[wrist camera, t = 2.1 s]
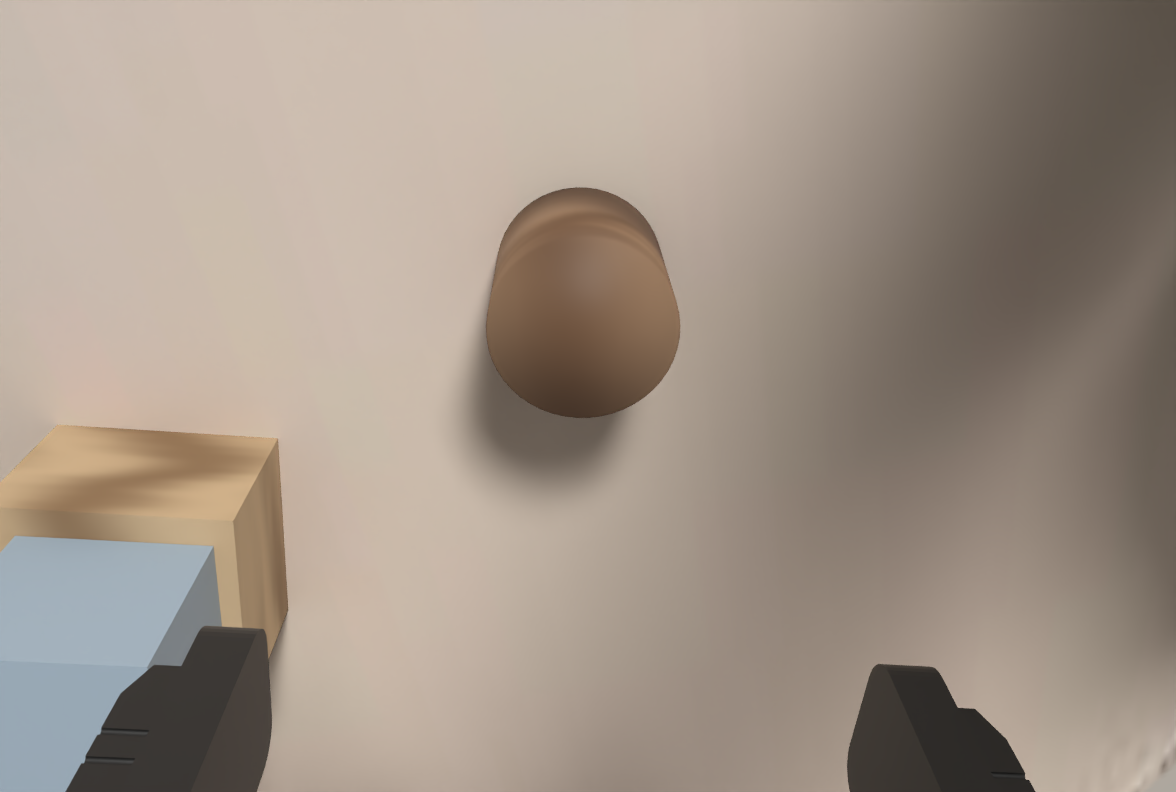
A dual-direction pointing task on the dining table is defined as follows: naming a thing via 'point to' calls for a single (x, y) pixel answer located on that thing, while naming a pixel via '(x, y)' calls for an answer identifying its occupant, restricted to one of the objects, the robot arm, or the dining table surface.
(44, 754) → the mid block
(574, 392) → the brown rounded cylinder
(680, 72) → the dining table surface
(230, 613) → the base block
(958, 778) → the robot arm
